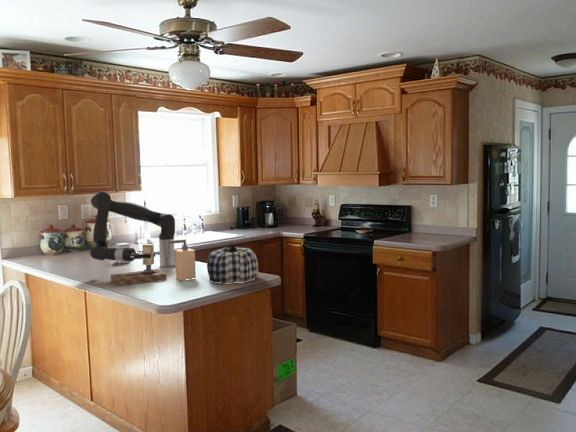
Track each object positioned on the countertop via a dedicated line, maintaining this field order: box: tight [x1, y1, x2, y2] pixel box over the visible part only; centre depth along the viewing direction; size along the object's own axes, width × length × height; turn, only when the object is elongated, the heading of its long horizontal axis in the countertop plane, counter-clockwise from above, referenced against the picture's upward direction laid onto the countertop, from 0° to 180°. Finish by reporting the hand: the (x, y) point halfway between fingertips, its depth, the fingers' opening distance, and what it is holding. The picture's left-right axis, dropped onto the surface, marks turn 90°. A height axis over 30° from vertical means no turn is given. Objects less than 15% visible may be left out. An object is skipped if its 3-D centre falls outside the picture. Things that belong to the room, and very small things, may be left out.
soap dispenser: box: [169, 239, 197, 281], centre depth 288 cm, size 13×9×22 cm
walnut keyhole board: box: [110, 268, 167, 287], centre depth 287 cm, size 26×16×4 cm, turn 122°
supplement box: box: [115, 242, 131, 264], centre depth 345 cm, size 7×7×13 cm
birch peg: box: [142, 243, 155, 273], centre depth 289 cm, size 5×5×16 cm
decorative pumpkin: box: [206, 244, 259, 283], centre depth 285 cm, size 30×29×20 cm
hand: (152, 255), depth 288 cm, fingers closed on birch peg, 4 cm apart
